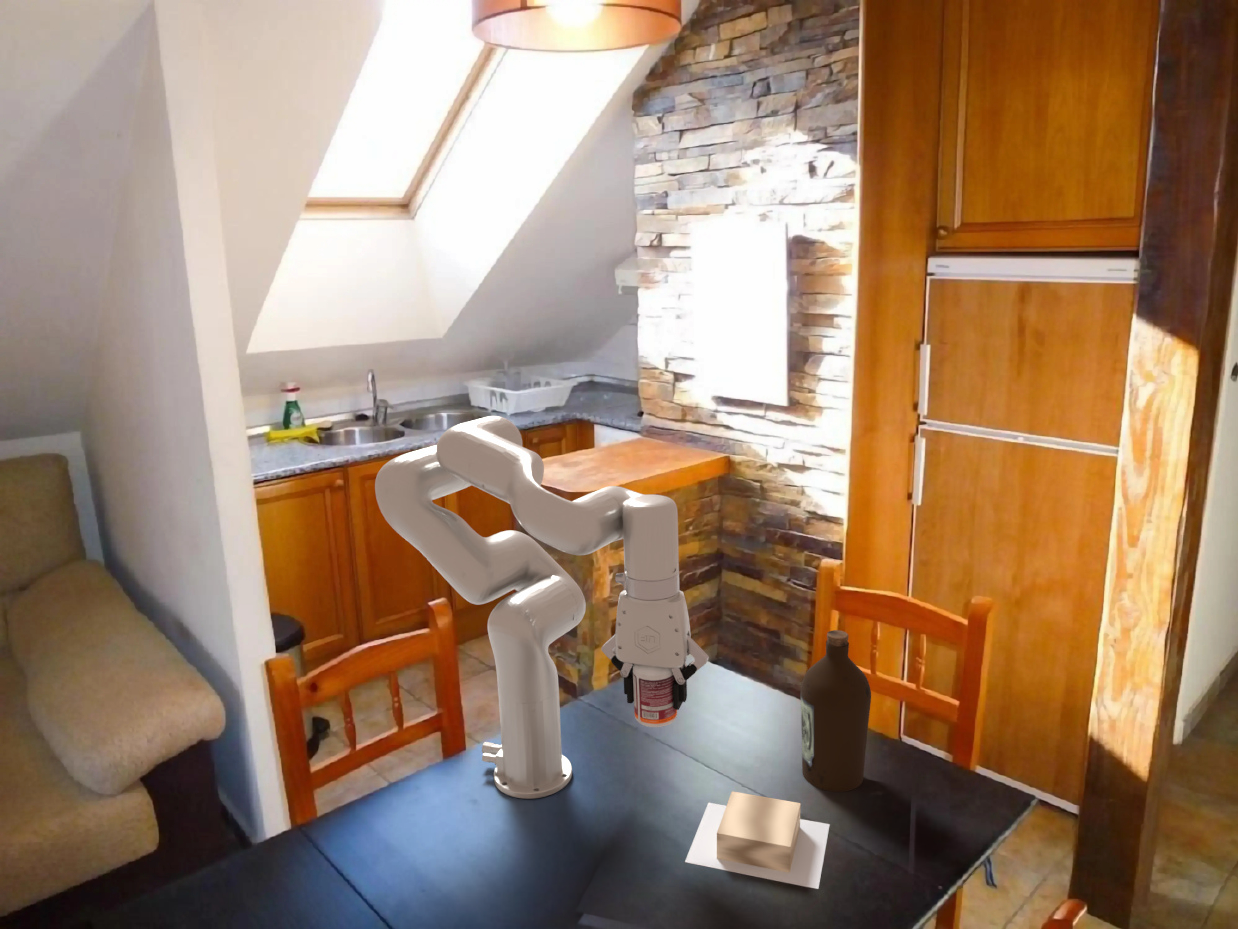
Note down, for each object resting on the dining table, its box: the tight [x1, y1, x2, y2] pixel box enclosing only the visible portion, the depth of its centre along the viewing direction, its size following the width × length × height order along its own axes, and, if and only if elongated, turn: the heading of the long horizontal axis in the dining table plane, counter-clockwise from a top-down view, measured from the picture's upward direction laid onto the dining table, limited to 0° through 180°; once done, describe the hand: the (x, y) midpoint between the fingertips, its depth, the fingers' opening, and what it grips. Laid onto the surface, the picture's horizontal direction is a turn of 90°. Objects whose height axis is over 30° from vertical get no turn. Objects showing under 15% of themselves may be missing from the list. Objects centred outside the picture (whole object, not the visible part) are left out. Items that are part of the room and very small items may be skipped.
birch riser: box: [717, 790, 802, 873], centre depth 126 cm, size 10×10×4 cm
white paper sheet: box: [684, 802, 831, 890], centre depth 127 cm, size 18×14×1 cm
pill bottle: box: [633, 664, 678, 728], centre depth 128 cm, size 6×6×11 cm
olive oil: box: [799, 629, 872, 793], centre depth 140 cm, size 11×11×25 cm
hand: (655, 701), depth 129 cm, fingers closed on pill bottle, 6 cm apart
